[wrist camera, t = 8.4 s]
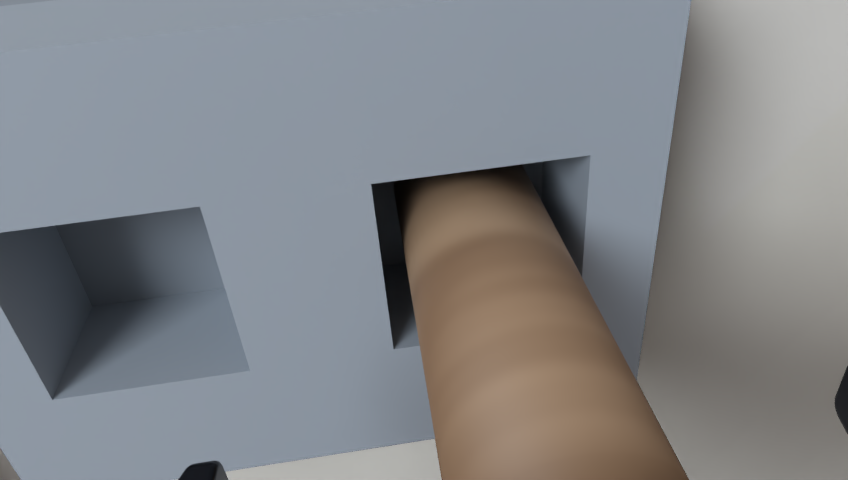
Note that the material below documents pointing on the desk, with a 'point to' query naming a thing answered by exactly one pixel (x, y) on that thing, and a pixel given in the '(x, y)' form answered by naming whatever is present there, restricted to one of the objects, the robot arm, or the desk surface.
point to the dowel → (517, 341)
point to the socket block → (289, 208)
